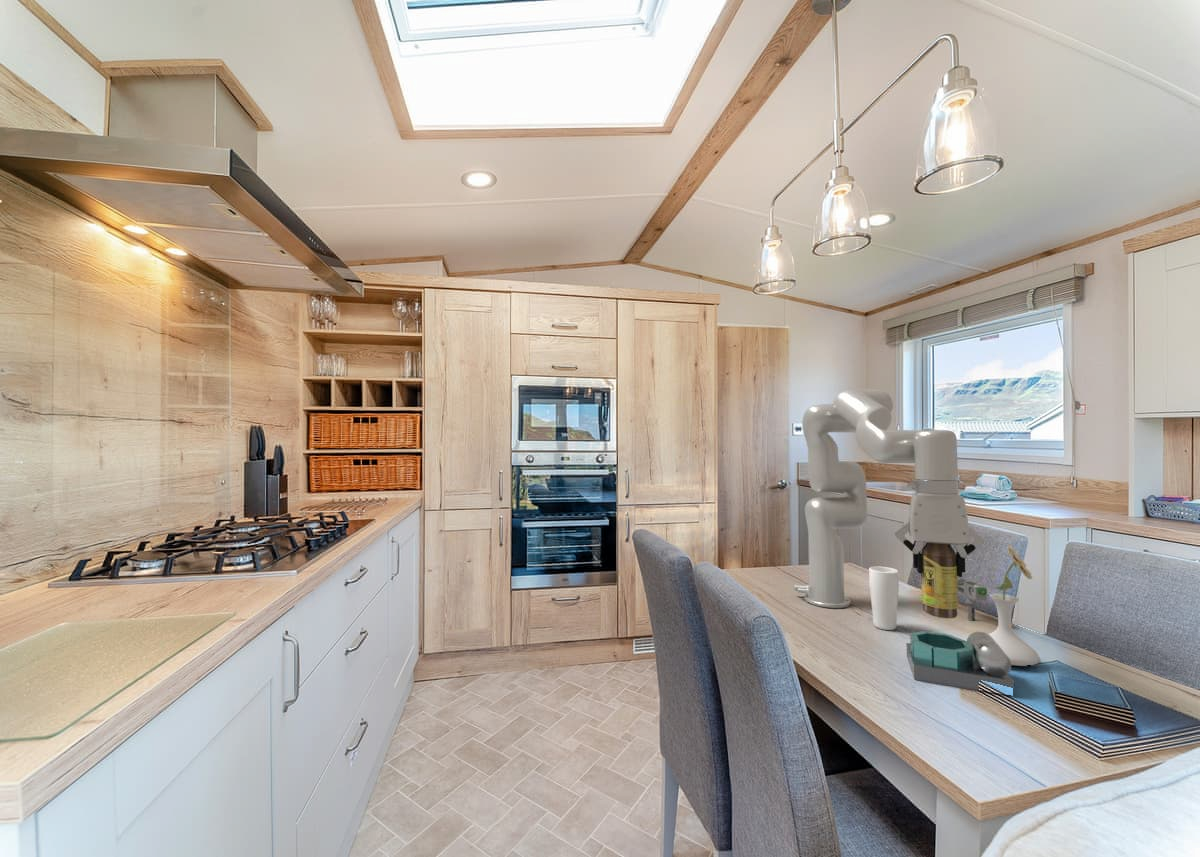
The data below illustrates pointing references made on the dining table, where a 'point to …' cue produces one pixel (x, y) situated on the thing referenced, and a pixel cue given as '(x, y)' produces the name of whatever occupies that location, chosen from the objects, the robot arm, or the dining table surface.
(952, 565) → the sauce bottle
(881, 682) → the dining table surface
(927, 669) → the base
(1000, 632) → the flower in vase
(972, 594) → the mechanical component
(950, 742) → the dining table surface
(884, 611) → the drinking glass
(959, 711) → the dining table surface
